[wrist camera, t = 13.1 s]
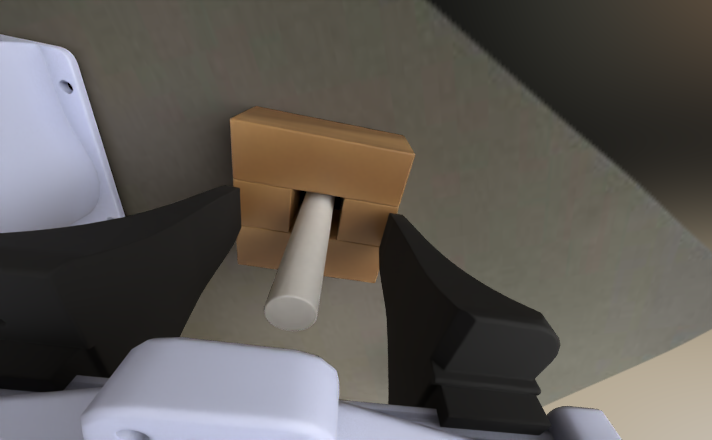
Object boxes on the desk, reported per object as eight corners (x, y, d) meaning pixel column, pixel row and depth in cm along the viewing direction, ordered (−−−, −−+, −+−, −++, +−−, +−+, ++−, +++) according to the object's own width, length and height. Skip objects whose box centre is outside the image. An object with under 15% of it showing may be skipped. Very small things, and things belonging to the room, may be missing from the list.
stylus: (310, 172, 14) (263, 292, 7) (338, 177, 14) (320, 300, 7) (307, 197, 15) (262, 328, 8) (334, 201, 15) (314, 334, 8)
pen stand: (254, 105, 12) (228, 118, 10) (404, 135, 13) (416, 154, 11) (255, 231, 16) (237, 264, 14) (372, 249, 17) (374, 283, 14)
